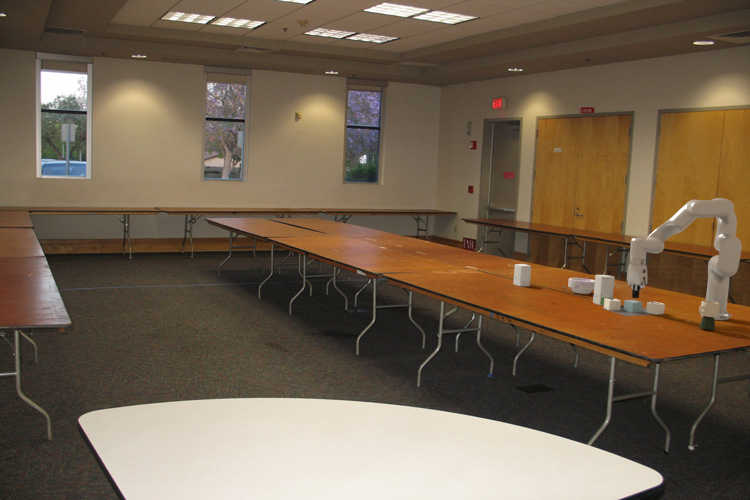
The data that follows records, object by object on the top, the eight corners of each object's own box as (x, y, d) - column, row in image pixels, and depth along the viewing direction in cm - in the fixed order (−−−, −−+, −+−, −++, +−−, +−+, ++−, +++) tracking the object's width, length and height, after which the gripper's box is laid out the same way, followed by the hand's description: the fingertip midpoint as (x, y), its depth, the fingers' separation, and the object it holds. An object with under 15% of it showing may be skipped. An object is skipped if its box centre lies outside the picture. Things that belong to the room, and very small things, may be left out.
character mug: (711, 327, 309) (714, 300, 307) (722, 331, 302) (725, 303, 300) (691, 328, 306) (694, 300, 304) (703, 332, 299) (706, 304, 297)
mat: (663, 314, 333) (664, 313, 333) (626, 316, 324) (626, 316, 324) (637, 307, 349) (638, 306, 349) (601, 308, 341) (601, 308, 341)
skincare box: (599, 305, 349) (601, 276, 347) (592, 303, 355) (594, 274, 353) (612, 305, 351) (615, 276, 349) (605, 302, 357) (608, 274, 355)
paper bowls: (591, 291, 391) (592, 278, 390) (597, 296, 376) (598, 282, 375) (565, 289, 393) (566, 276, 392) (570, 294, 378) (571, 280, 377)
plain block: (641, 312, 335) (642, 302, 334) (632, 312, 333) (633, 302, 332) (632, 309, 340) (633, 300, 340) (623, 309, 338) (624, 300, 338)
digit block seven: (620, 310, 337) (621, 300, 336) (609, 310, 336) (609, 300, 335) (614, 307, 343) (615, 298, 342) (603, 307, 342) (604, 297, 341)
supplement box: (530, 286, 399) (531, 265, 397) (519, 286, 396) (521, 265, 395) (523, 284, 406) (524, 263, 404) (512, 284, 403) (514, 264, 401)
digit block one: (663, 313, 333) (664, 303, 333) (656, 314, 330) (657, 304, 330) (653, 311, 338) (654, 301, 338) (646, 312, 335) (647, 302, 335)
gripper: (654, 263, 328) (652, 300, 330) (632, 260, 342) (630, 294, 344) (642, 264, 325) (640, 301, 327) (621, 260, 339) (619, 295, 341)
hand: (635, 297), depth 336 cm, fingers closed
